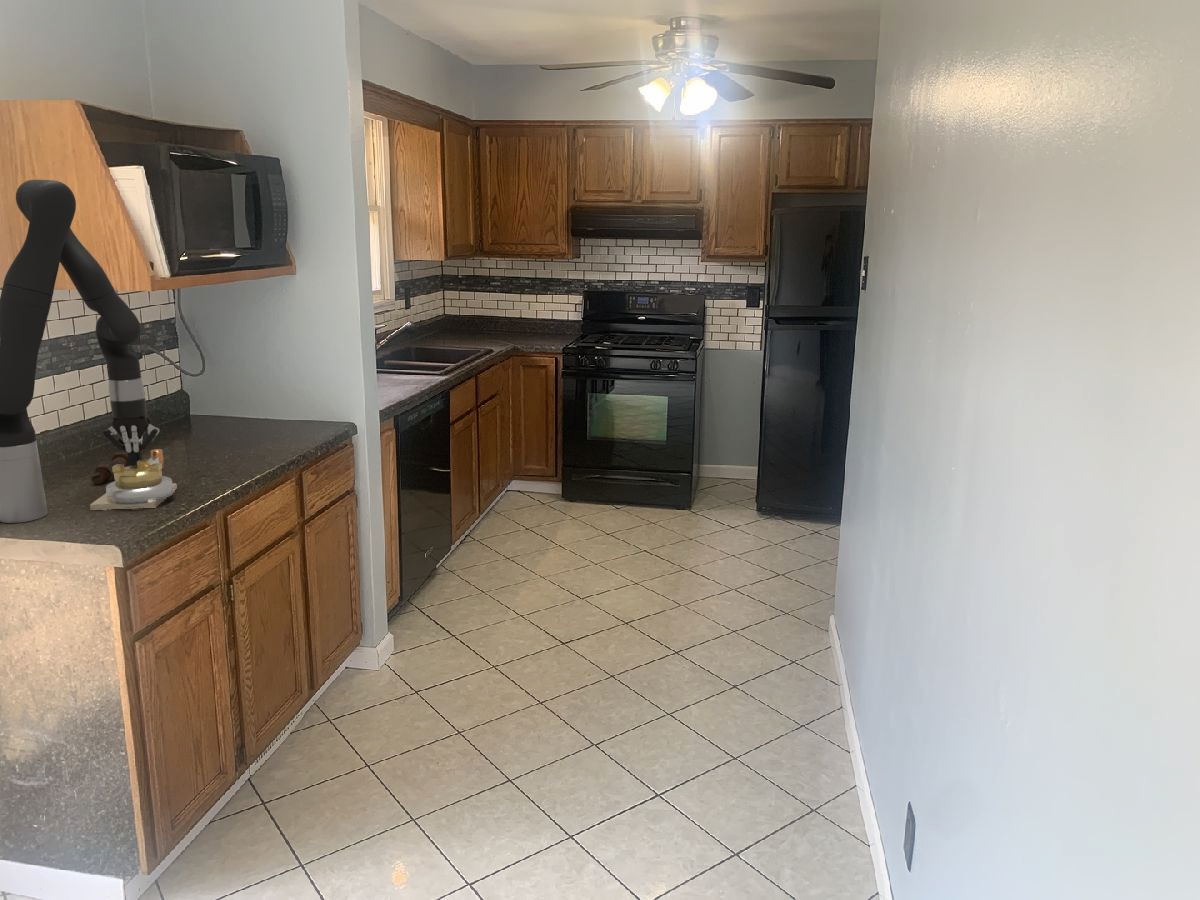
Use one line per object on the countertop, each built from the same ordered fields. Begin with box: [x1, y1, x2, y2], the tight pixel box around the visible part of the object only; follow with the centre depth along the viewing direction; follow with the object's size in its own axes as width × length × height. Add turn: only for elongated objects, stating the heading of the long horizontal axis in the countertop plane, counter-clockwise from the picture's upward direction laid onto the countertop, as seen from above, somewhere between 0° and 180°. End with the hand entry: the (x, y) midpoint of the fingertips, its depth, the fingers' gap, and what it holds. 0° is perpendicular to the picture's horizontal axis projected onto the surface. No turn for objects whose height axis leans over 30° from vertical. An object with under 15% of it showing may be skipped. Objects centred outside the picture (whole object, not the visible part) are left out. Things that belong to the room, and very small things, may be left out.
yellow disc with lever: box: [112, 448, 165, 488], centre depth 216 cm, size 20×10×4 cm, turn 8°
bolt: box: [90, 451, 132, 485], centre depth 233 cm, size 6×5×15 cm
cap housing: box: [89, 475, 178, 511], centre depth 214 cm, size 16×17×4 cm
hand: (136, 466), depth 221 cm, fingers closed
